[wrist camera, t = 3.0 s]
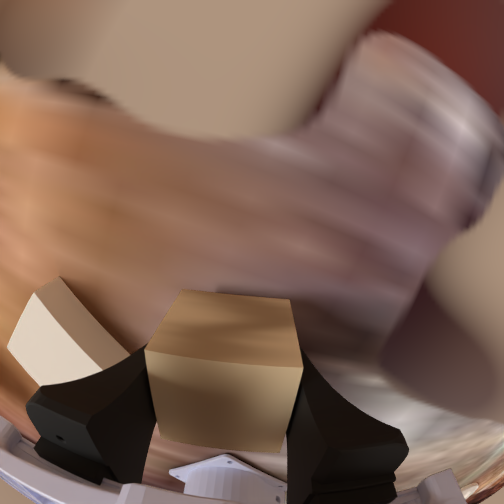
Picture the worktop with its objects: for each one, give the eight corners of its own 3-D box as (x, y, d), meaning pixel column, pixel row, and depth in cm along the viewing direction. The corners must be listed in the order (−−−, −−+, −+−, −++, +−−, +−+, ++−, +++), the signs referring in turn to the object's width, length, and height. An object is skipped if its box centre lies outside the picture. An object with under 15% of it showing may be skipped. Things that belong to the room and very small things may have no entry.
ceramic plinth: (145, 364, 16) (129, 394, 13) (94, 399, 18) (79, 423, 15) (62, 273, 15) (33, 292, 12) (27, 329, 16) (6, 347, 14)
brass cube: (289, 299, 13) (303, 367, 8) (275, 379, 14) (279, 452, 9) (182, 289, 13) (144, 349, 8) (184, 370, 14) (161, 438, 9)
